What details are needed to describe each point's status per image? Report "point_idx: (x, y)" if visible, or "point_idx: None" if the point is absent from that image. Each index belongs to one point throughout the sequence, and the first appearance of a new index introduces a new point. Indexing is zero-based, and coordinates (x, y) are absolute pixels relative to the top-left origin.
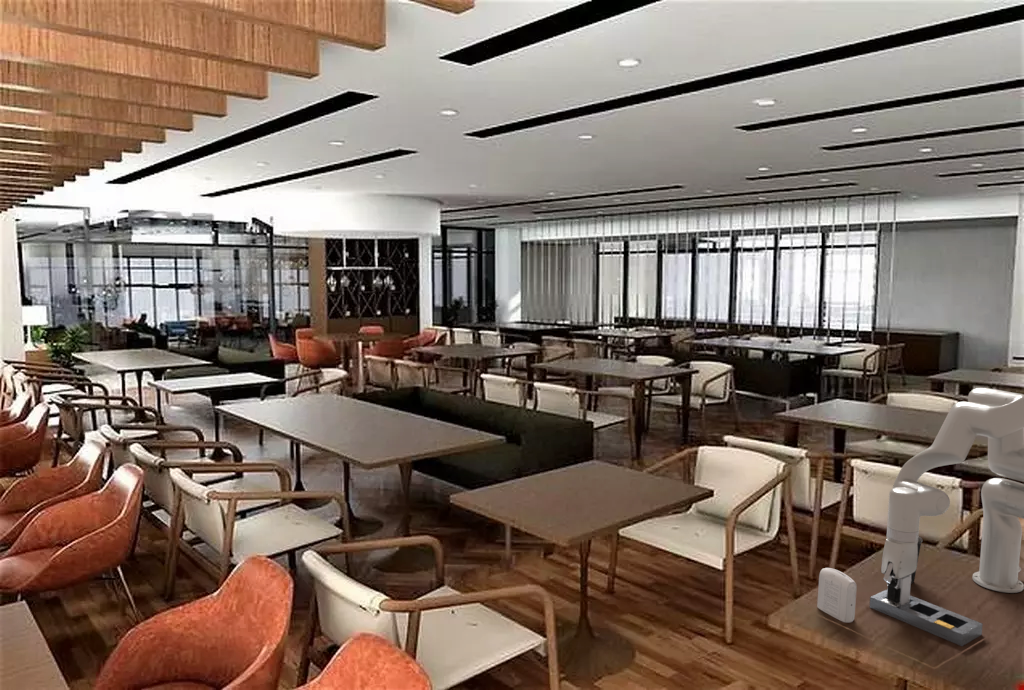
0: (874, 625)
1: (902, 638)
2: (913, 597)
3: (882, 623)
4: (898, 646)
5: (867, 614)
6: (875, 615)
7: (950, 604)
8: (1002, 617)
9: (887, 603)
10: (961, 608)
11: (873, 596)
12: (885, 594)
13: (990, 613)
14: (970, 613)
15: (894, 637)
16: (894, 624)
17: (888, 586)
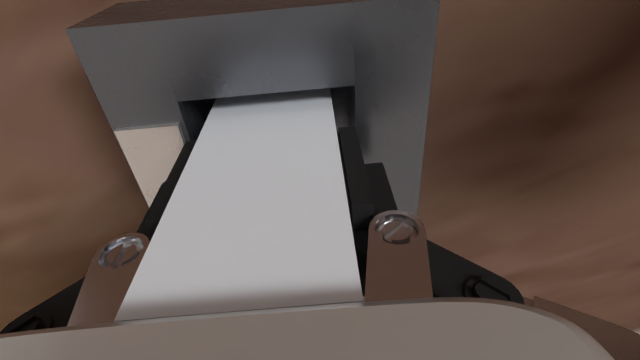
0: (2, 165)
1: (76, 277)
2: (407, 194)
3: (70, 170)
4: (12, 300)
5: (40, 57)
6: (93, 92)
7: (613, 197)
8: (606, 319)
9: (136, 175)
10: (595, 236)
11: (105, 40)
12: (256, 67)
13: (619, 294)
14: (563, 270)
15: (42, 262)
16: (134, 201)
17: (153, 214)
